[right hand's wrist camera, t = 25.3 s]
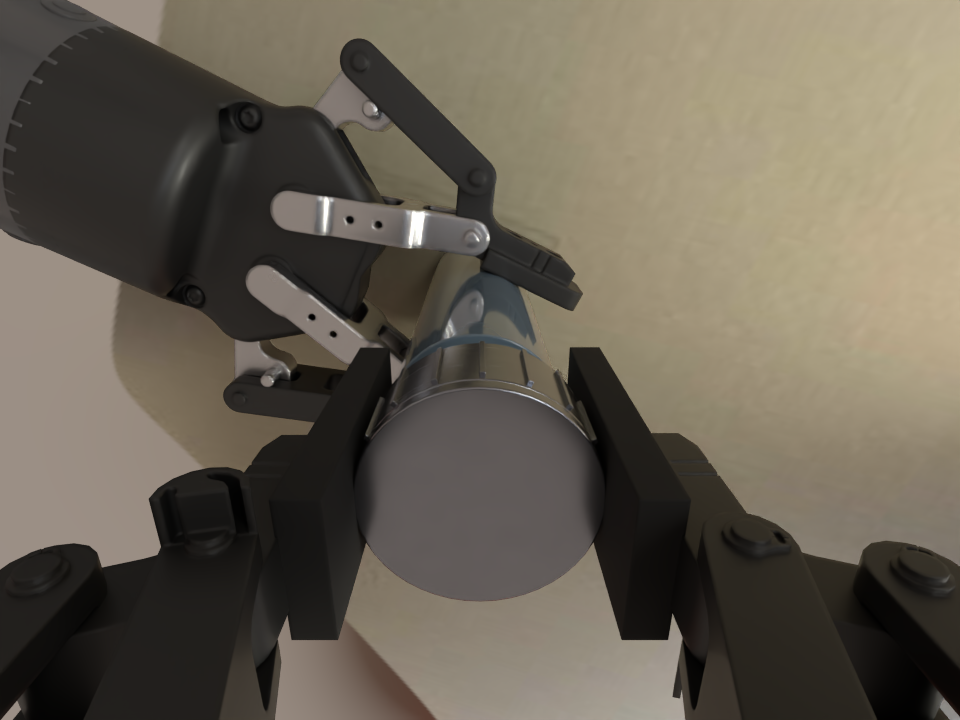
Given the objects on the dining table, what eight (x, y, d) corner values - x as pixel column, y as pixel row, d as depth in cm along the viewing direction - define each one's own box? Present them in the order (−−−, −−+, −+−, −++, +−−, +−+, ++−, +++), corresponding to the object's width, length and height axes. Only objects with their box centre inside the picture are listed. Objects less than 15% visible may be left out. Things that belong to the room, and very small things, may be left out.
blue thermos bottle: (527, 245, 25) (597, 381, 11) (514, 330, 27) (559, 554, 12) (437, 234, 25) (379, 356, 10) (429, 320, 27) (369, 536, 12)
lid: (414, 303, 11) (398, 341, 9) (626, 387, 12) (659, 440, 10) (344, 490, 13) (316, 559, 10) (534, 553, 13) (544, 632, 11)
